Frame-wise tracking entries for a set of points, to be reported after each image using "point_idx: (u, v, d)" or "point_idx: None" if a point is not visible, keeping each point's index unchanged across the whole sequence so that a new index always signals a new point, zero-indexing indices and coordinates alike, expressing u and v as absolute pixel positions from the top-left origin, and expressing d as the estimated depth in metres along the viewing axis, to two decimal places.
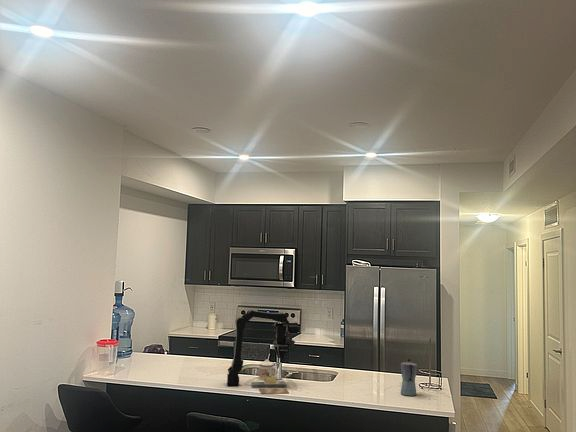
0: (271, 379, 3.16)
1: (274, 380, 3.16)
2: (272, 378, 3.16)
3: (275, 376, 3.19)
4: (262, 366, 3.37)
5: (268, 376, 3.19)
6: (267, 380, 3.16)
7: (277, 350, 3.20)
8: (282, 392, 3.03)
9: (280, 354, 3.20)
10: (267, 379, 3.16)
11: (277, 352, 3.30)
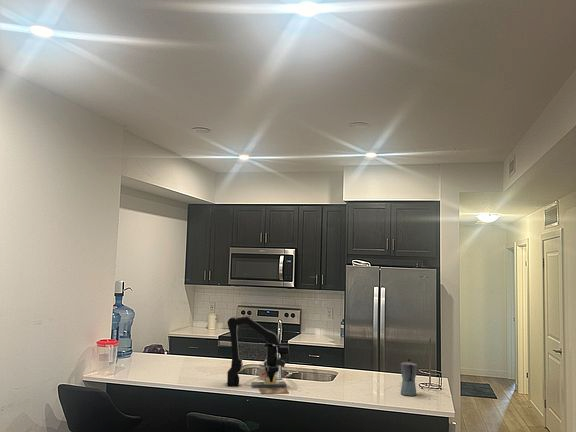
0: None
1: (274, 380, 3.16)
2: None
3: (275, 376, 3.19)
4: (262, 366, 3.37)
5: (268, 376, 3.19)
6: (267, 380, 3.16)
7: (267, 371, 3.15)
8: (282, 392, 3.03)
9: (270, 375, 3.15)
10: (267, 379, 3.16)
11: None
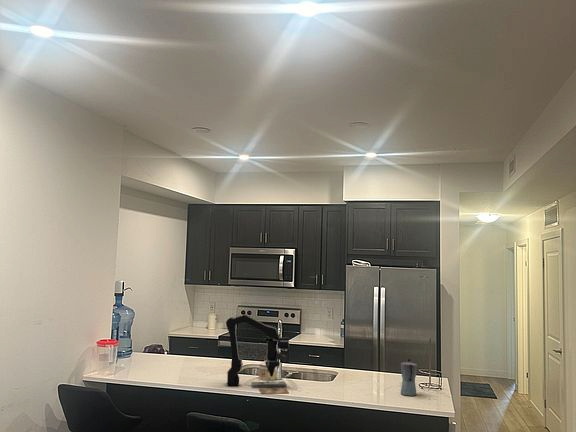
0: None
1: (274, 374, 3.17)
2: None
3: (275, 370, 3.19)
4: (262, 366, 3.37)
5: (268, 370, 3.19)
6: (267, 374, 3.16)
7: (267, 365, 3.15)
8: (282, 392, 3.03)
9: (270, 369, 3.15)
10: (267, 373, 3.16)
11: None
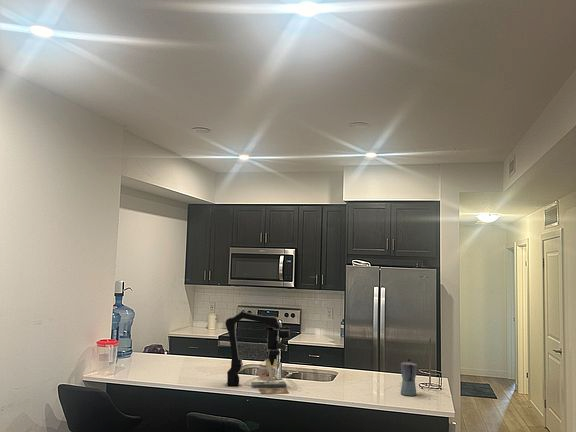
0: None
1: (275, 363, 3.17)
2: None
3: (276, 360, 3.19)
4: (262, 366, 3.37)
5: (269, 360, 3.19)
6: (268, 363, 3.16)
7: (267, 354, 3.15)
8: (282, 392, 3.03)
9: (270, 358, 3.15)
10: (268, 362, 3.16)
11: (269, 357, 3.21)
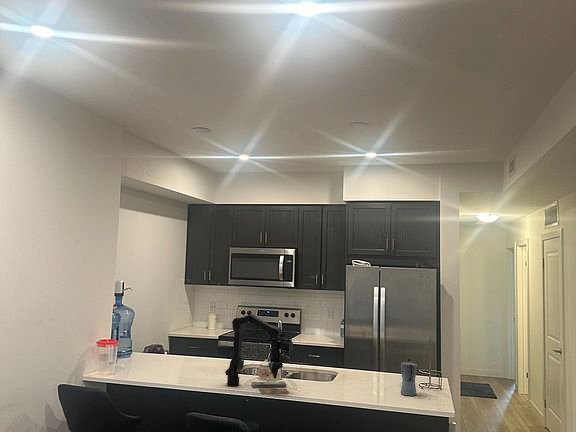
0: None
1: (278, 376, 3.05)
2: None
3: None
4: (262, 366, 3.37)
5: None
6: (271, 376, 3.04)
7: (270, 367, 3.04)
8: (282, 392, 3.03)
9: (273, 371, 3.03)
10: (271, 375, 3.04)
11: (272, 370, 3.10)
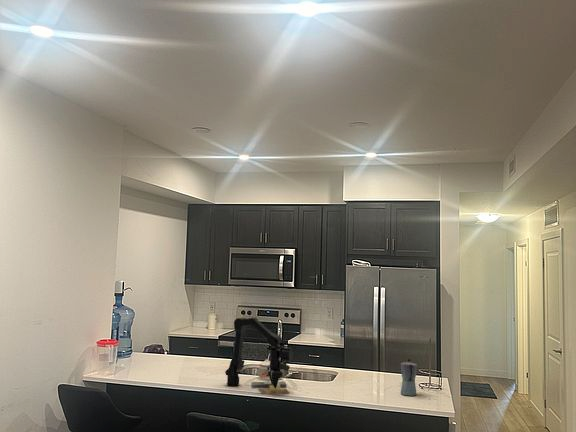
0: None
1: (278, 388, 3.05)
2: None
3: None
4: (262, 366, 3.37)
5: (271, 384, 3.07)
6: (270, 388, 3.04)
7: (270, 376, 3.02)
8: (282, 392, 3.03)
9: (274, 380, 3.01)
10: (270, 387, 3.04)
11: (271, 378, 3.11)
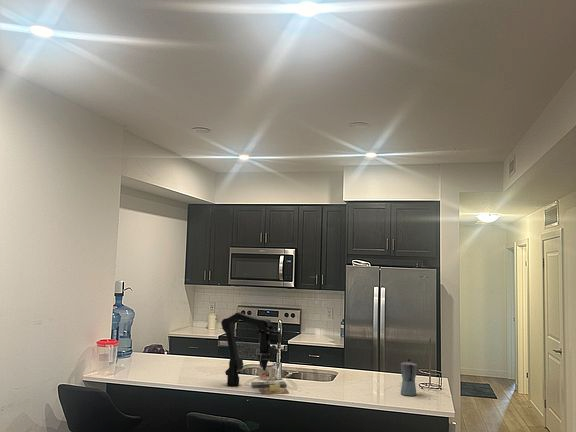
0: (274, 387, 3.04)
1: (278, 388, 3.05)
2: (275, 386, 3.04)
3: None
4: None
5: (271, 384, 3.07)
6: (270, 388, 3.04)
7: (260, 359, 3.06)
8: (282, 392, 3.03)
9: (263, 363, 3.05)
10: (270, 387, 3.04)
11: (260, 360, 3.15)
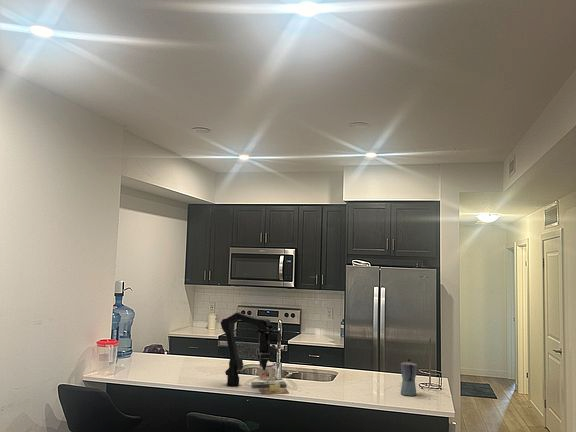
0: (274, 387, 3.04)
1: (278, 388, 3.05)
2: (275, 386, 3.04)
3: None
4: None
5: (271, 384, 3.07)
6: (270, 388, 3.04)
7: (259, 358, 3.06)
8: (282, 392, 3.03)
9: (262, 363, 3.05)
10: (270, 387, 3.04)
11: (260, 360, 3.16)
